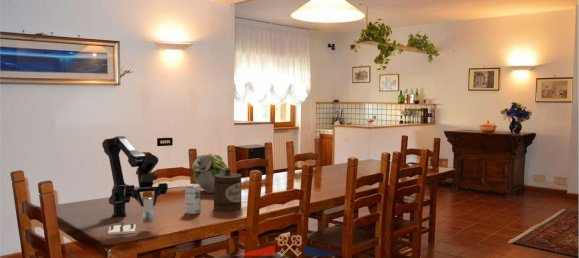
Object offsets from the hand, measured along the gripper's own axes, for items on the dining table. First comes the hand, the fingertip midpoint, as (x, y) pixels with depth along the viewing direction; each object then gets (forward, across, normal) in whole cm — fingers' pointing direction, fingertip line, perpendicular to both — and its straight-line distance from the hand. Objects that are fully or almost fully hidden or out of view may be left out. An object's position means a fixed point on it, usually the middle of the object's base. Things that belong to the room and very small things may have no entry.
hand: (148, 205), depth 210 cm
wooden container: (-12, +46, +28) cm, 55 cm away
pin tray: (+5, -11, +11) cm, 16 cm away
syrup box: (-10, +26, +26) cm, 38 cm away
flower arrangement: (-44, +51, +61) cm, 91 cm away
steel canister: (+4, 0, +6) cm, 7 cm away
